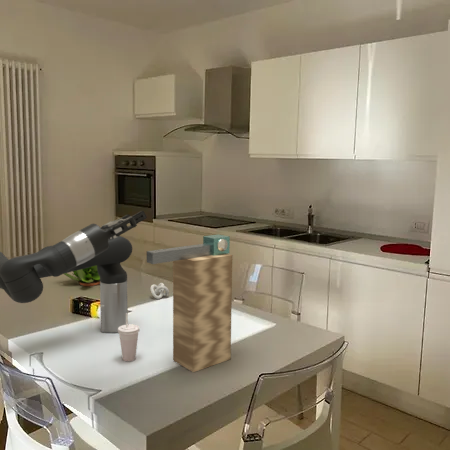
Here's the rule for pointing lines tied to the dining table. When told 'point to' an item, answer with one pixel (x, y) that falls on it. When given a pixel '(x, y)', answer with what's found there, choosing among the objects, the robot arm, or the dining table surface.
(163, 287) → the knot
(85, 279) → the potted flower
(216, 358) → the stand
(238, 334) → the dining table surface
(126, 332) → the smoothie
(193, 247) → the bar
